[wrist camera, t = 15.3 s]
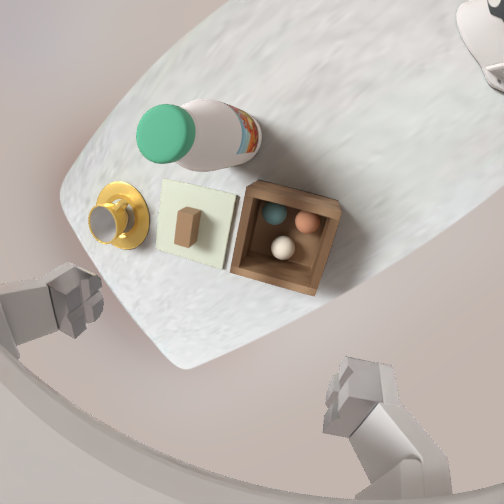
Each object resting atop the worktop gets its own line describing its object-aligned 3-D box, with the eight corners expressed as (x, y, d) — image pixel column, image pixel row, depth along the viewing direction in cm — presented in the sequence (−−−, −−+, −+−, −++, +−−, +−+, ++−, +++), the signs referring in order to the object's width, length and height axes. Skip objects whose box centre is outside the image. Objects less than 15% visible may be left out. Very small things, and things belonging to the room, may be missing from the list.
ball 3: (322, 210, 37) (322, 215, 34) (316, 232, 38) (316, 239, 36) (299, 203, 38) (297, 208, 35) (293, 226, 39) (291, 233, 36)
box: (337, 200, 37) (341, 212, 31) (315, 272, 41) (314, 296, 35) (258, 179, 38) (246, 186, 32) (243, 252, 43) (229, 272, 36)
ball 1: (290, 201, 38) (288, 206, 35) (285, 224, 39) (282, 230, 36) (267, 195, 38) (262, 199, 35) (262, 217, 39) (257, 224, 37)
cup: (126, 261, 49) (108, 273, 44) (88, 212, 47) (68, 220, 42) (163, 219, 44) (145, 229, 39) (119, 166, 43) (98, 170, 38)
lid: (238, 193, 40) (229, 199, 37) (224, 266, 45) (215, 277, 41) (166, 177, 42) (152, 181, 38) (159, 246, 46) (146, 255, 43)
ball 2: (298, 236, 39) (296, 243, 36) (292, 257, 40) (290, 266, 38) (275, 230, 40) (272, 237, 37) (270, 251, 41) (266, 259, 38)
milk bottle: (252, 172, 38) (191, 198, 20) (201, 155, 39) (110, 170, 21) (270, 119, 35) (222, 93, 17) (217, 104, 36) (132, 78, 18)
